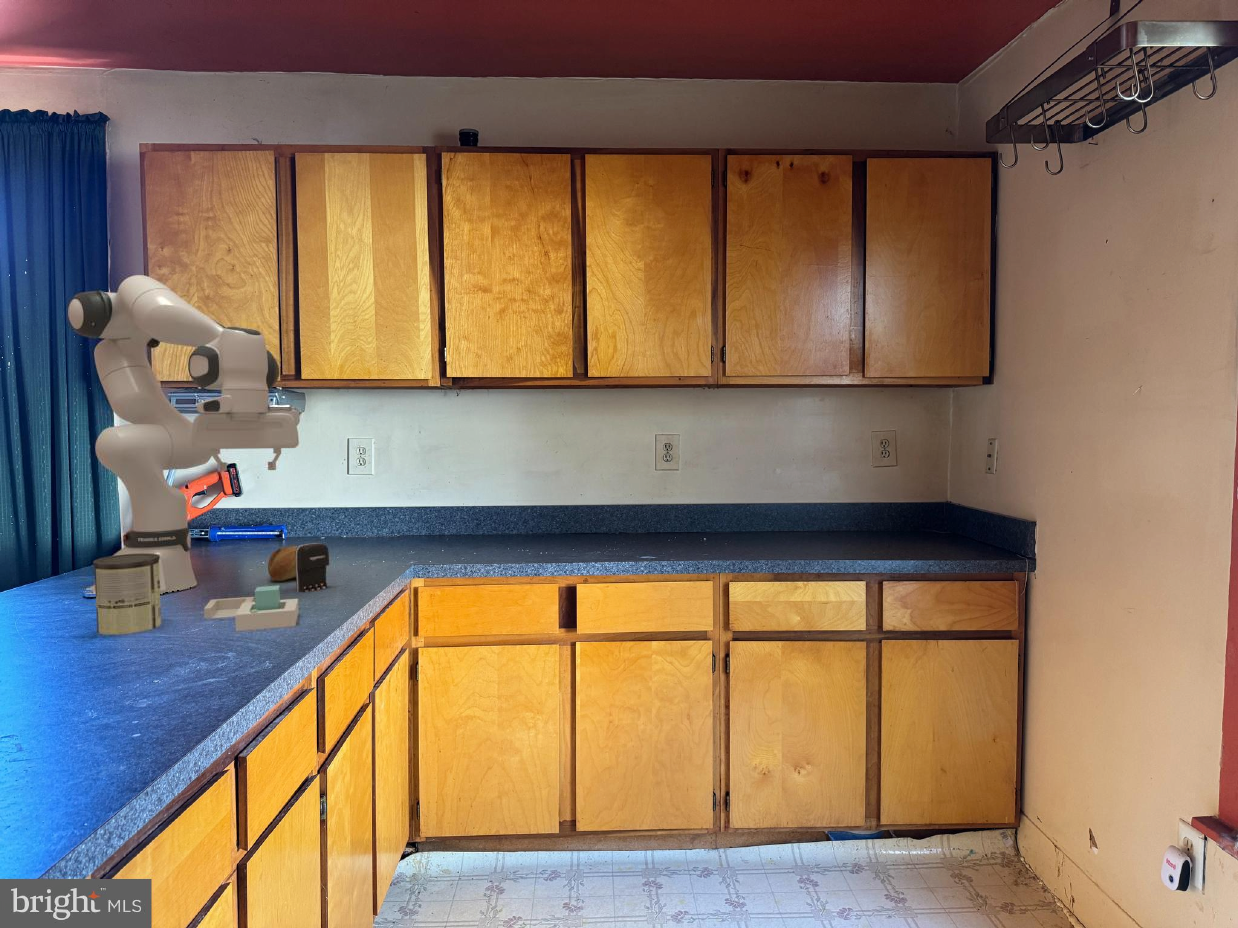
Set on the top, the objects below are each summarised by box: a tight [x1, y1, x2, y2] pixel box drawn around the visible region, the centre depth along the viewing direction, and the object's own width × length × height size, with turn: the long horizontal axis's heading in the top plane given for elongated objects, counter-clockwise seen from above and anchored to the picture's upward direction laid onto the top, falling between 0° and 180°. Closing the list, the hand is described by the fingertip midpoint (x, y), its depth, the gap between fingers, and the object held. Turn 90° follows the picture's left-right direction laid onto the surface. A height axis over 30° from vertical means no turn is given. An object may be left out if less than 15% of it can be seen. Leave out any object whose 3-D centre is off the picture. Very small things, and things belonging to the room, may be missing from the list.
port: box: [235, 598, 299, 632], centre depth 143 cm, size 10×10×4 cm
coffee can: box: [93, 553, 162, 636], centre depth 139 cm, size 10×10×14 cm
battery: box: [295, 542, 330, 593], centre depth 172 cm, size 7×4×11 cm, turn 143°
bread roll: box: [267, 545, 300, 582], centre depth 190 cm, size 10×15×8 cm, turn 169°
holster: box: [203, 596, 255, 620], centre depth 151 cm, size 8×8×3 cm
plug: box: [254, 585, 281, 611], centre depth 143 cm, size 4×4×7 cm
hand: (247, 470), depth 158 cm, fingers open, 8 cm apart
